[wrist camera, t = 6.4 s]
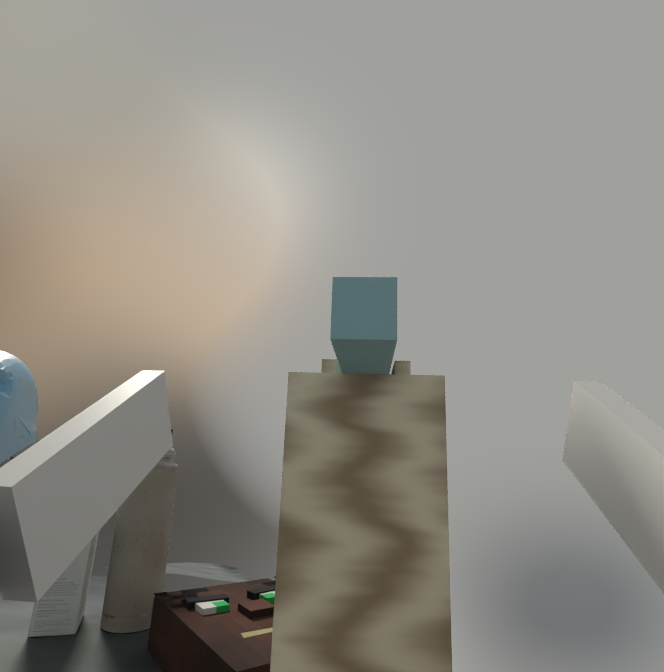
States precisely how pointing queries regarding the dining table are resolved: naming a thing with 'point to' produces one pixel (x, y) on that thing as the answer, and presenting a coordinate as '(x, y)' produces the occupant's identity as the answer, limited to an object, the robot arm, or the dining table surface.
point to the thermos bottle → (140, 550)
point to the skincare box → (65, 598)
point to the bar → (364, 323)
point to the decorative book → (214, 628)
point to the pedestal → (363, 525)
